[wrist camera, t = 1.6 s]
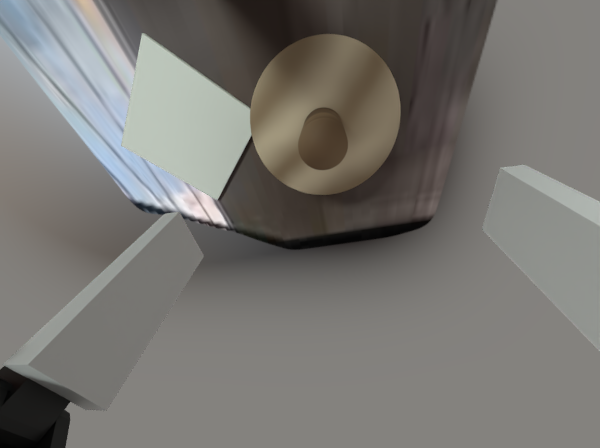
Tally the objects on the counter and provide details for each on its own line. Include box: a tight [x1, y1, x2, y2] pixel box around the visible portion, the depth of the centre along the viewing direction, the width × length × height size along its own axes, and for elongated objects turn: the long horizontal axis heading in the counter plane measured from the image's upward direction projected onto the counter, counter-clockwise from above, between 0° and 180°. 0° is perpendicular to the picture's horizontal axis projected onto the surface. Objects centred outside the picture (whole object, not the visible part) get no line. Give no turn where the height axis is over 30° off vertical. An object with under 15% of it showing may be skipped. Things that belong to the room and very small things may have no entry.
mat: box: [121, 33, 252, 200], centre depth 31 cm, size 15×15×1 cm
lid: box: [250, 34, 401, 195], centre depth 21 cm, size 15×15×7 cm
